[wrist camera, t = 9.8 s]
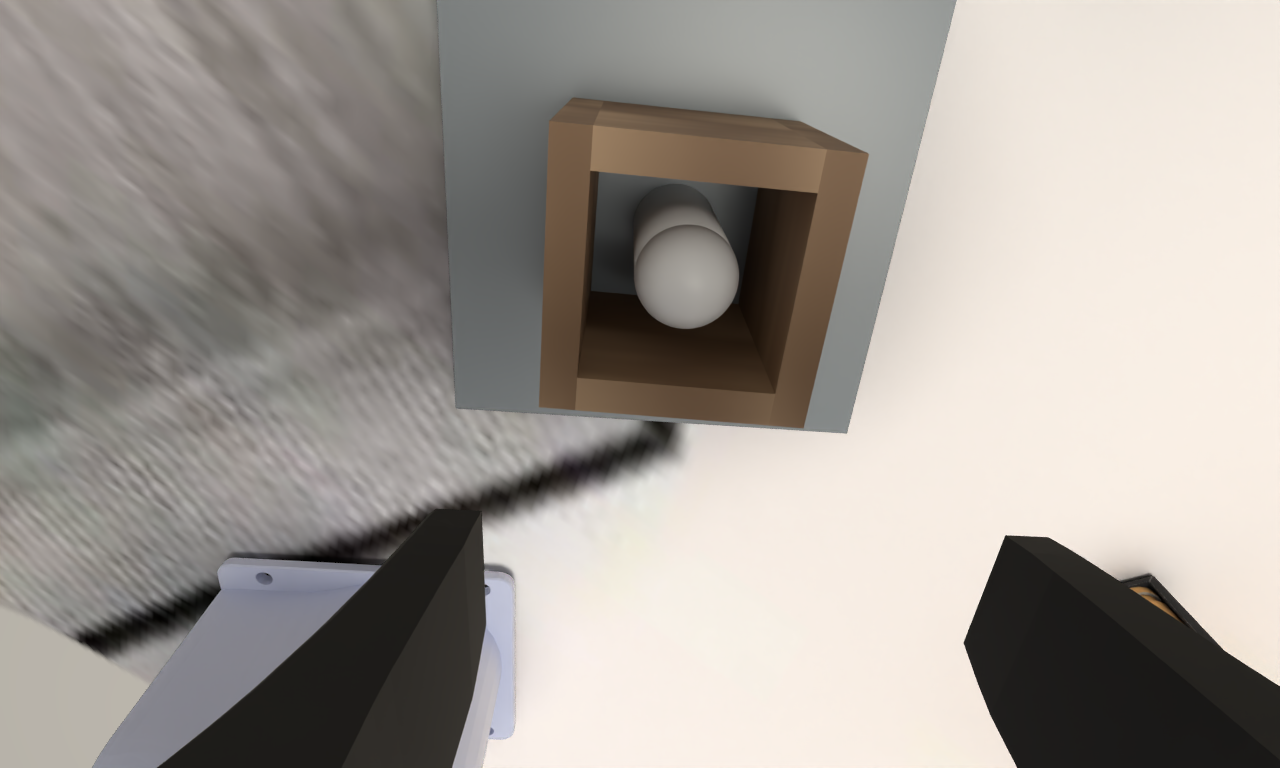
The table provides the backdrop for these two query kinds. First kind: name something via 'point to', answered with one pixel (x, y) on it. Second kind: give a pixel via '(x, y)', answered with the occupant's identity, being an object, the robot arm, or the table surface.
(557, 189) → the walnut frame
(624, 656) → the table surface
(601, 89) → the gray peg stand
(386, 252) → the table surface
